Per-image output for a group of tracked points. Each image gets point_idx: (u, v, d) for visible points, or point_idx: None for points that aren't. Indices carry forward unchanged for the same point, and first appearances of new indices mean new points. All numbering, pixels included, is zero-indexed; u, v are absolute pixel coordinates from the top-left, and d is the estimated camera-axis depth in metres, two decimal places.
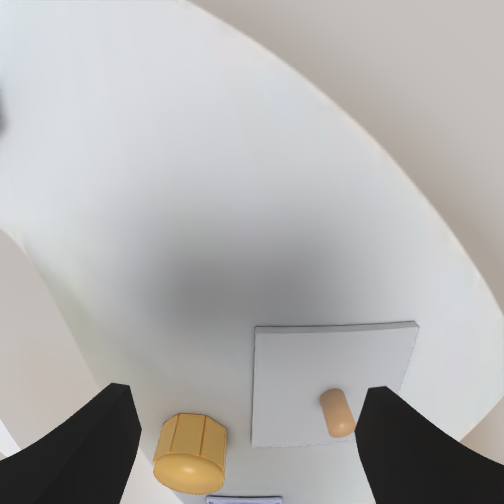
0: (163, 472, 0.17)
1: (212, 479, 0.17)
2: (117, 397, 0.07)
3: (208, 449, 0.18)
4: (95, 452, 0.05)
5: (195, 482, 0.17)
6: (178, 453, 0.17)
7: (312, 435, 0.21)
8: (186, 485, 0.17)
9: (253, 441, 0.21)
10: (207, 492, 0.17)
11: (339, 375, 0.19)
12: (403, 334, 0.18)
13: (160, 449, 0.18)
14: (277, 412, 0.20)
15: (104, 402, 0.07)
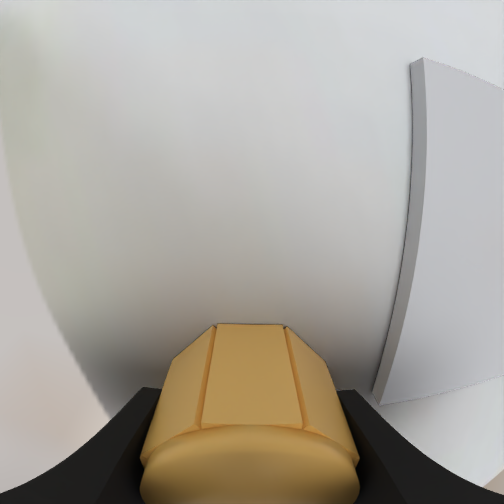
0: (173, 494, 0.05)
1: (328, 499, 0.05)
2: (152, 402, 0.07)
3: (317, 407, 0.06)
4: (134, 461, 0.05)
5: None
6: (228, 426, 0.05)
7: (485, 358, 0.09)
8: None
9: (388, 387, 0.09)
10: None
11: None
12: None
13: (162, 421, 0.06)
14: (455, 291, 0.08)
15: (140, 408, 0.07)
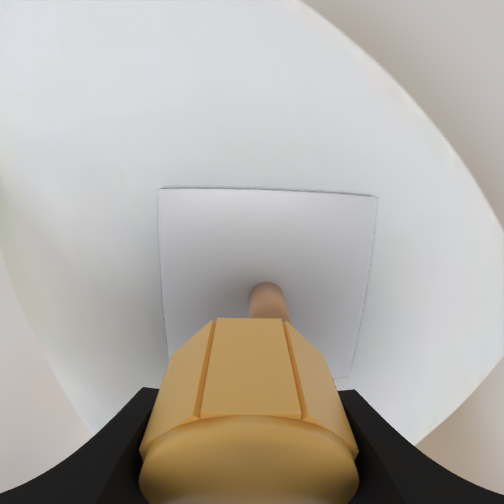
0: (172, 486, 0.05)
1: (327, 492, 0.05)
2: (152, 402, 0.07)
3: (316, 399, 0.06)
4: (134, 461, 0.05)
5: None
6: (227, 417, 0.05)
7: None
8: None
9: None
10: None
11: (271, 260, 0.16)
12: (355, 205, 0.15)
13: (161, 413, 0.06)
14: (195, 317, 0.16)
15: (140, 408, 0.07)
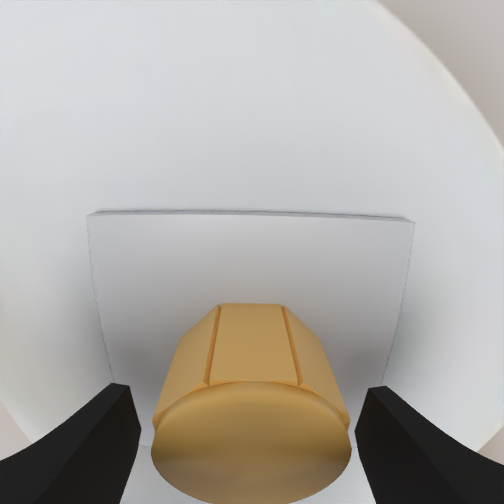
0: (181, 453, 0.06)
1: (322, 459, 0.06)
2: (117, 397, 0.07)
3: (311, 371, 0.07)
4: (95, 452, 0.05)
5: (270, 476, 0.06)
6: (232, 383, 0.06)
7: None
8: (242, 486, 0.07)
9: None
10: (292, 498, 0.07)
11: None
12: (383, 235, 0.10)
13: (173, 386, 0.07)
14: (153, 386, 0.11)
15: (104, 402, 0.07)
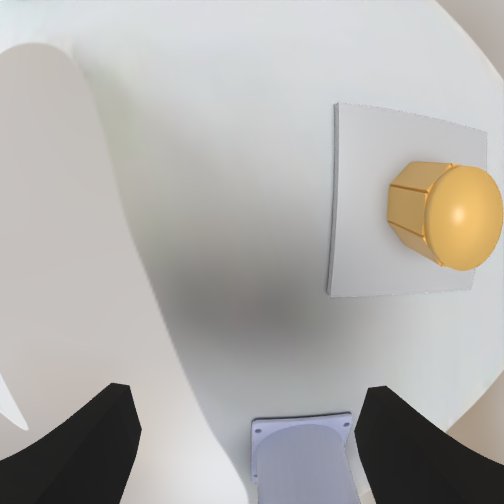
0: (447, 205, 0.11)
1: (494, 216, 0.12)
2: (117, 397, 0.07)
3: None
4: (95, 452, 0.05)
5: (476, 228, 0.12)
6: (460, 166, 0.12)
7: (403, 275, 0.17)
8: (465, 240, 0.12)
9: (333, 284, 0.17)
10: (482, 258, 0.12)
11: None
12: (475, 136, 0.15)
13: (425, 180, 0.13)
14: (365, 225, 0.16)
15: (104, 402, 0.07)
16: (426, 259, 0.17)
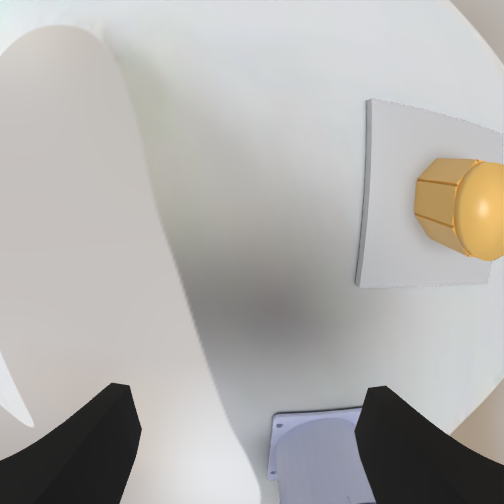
0: (475, 197, 0.11)
1: None
2: (117, 397, 0.07)
3: None
4: (95, 452, 0.05)
5: (499, 221, 0.12)
6: (484, 162, 0.12)
7: (427, 267, 0.17)
8: (490, 231, 0.12)
9: (363, 274, 0.17)
10: None
11: None
12: (492, 137, 0.15)
13: (454, 174, 0.13)
14: (394, 218, 0.16)
15: (104, 402, 0.07)
16: (448, 252, 0.17)
